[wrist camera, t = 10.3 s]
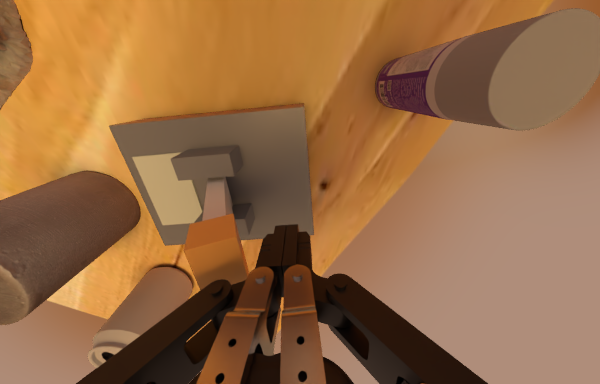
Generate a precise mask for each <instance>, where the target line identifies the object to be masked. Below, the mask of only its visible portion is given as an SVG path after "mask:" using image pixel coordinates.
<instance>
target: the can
mask: <svg viewBox="0 0 600 384" xmlns="http://www.w3.org/2000/svg"><path fill="white" fill-rule="evenodd" d="M191 292H192V284H191V281H190V280H189V278H188V276H187V275H186V274H185V273H184V272H182V271H181V270H179V269H177V268H173V267H158V268H154V269H152V270H150V271H149V272H147V273H146V275H145V276H144V277H143V278H142V279H141V281H140V282H139V283H138V284H137V285H136V287H135V288H134V289H133V290H132V291H131V293H130V294H129V295H128V296H127V297H126V299H125V300H124V301H123V302H122V303H121V305H120V306H119V307H118V308H117V309H116V311H115V312H114V313H113V314H112V315H111V317H110V318H109V319H108V320H107V322H106V323H105V324H104V325H103V326H102V327H101V329H100V330H99V331H98V332H97V334H96V335H95V336H94V338H93V349H91V350H90V351H89V353H88V360H89V362H90V363H91V364H92V365H93V366H95V367H96V368H98V367H99V366H100V365H102V364H103V363H104V362H106V361H107V360H108V359H110V358H111V357H112V356H114V355H115V354H116V353H118V352H119V351H120V350H122V349H123V348H124V347H126V346H127V345H128V344H130V343H131V342H132V341H134V340H135V339H136V338H138V337H139V336H140V335H142V334H143V333H144V332H146V331H147V330H148V329H150V328H151V327H152V326H154V325H155V324H156V323H158V322H159V321H161V320H162V319H163V318H165V317H166V316H167V315H169V314H170V313H171V312H173V311H174V310H175V309H177V308H178V307H179V306H181V305H182V304H183V303H185V302H186V301H187V300H188V298H189V296H190V294H191Z"/></svg>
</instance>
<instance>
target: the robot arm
mask: <svg viewBox="0 0 600 384" xmlns="http://www.w3.org/2000/svg"><path fill="white" fill-rule="evenodd" d="M281 297H284V310H283V311H282V318H281V353H278V354H275V355H274V344H275V339H276V334H277V328H278V323H279V318H280V312H281V308H280V305H281ZM210 320H211V321H210ZM209 321H210V322H209ZM207 322H209V323H208V324H207V325H206V326H205V327H204V328H202V327H203V326H204V325H205V324H206V323H207ZM318 322H321V323H324V324H328V325H329V328H330V329H331V331H333V333H334V334H335V335H336V336H337V337H338V338H339V339H340V340H341V342H342V343H343V344H344V345H345V346H346V347H347V348H348V349H349V350H350V351H351V352H352V354H353V355H354V356H355V357H356V358H357V359H358V360H359V361H360V362H361V364H362V365H363V366H364V367H365V368H366V369H367V370H368V371H369V373H370V374H371V375H372V376H373V377H374V378H375V379H376V380H377V381H378V382H379V384H488V383H487V382H485V381H484V380H483V379H481V378H480V377H479V376H477V375H476V374H475V373H473V372H472V371H471V370H470V369H468V368H467V367H466V366H464V365H463V364H462V363H461V362H459V361H458V360H456V359H455V358H454V357H453V356H451V355H450V354H449V353H448V352H446V351H445V350H444V349H442V348H441V347H440V346H438V345H437V344H436V343H435V342H433V341H432V340H431V339H429V338H428V337H427V336H426V335H424V334H423V333H422V332H420V331H419V330H418V329H416V328H415V327H414V326H413V325H411V324H410V323H409V322H407V321H406V320H405V319H404V318H402V317H401V316H400V315H398V314H397V313H396V312H394V311H393V310H392V309H390V308H389V307H388V306H387V305H385V304H384V303H383V302H382V301H380V300H379V299H378V298H376V297H375V296H374V295H372V294H371V293H370V292H369V291H367V290H366V289H365V288H363V287H362V286H361V285H360V284H358V283H357V282H356V281H354V280H353V279H352V278H350V277H349V276H347V275H345V274H334V275H332V276H330V277H329V278H328V279H327V278H323V277H320V276H318V275H316V274H315V273H314V272H313V270H312V254H311V243H310V236H309V234H308V233H307V231H304V232H299V226H298V224H292V225H278V226H275V230H274V234H267V235H266V237H265V238H264V239H263V242H262V246H261V249H260V253H259V256H258V260H257V264H256V267H255V269H254V270H252V271H251V272H250V273H249V275H248V277H247V279H246V280H244V281H242V282H239V283H236V284H232V285H231V284H230V282H229V281H228V280H225V279H220V280H216V281H214V282H212V283H210V284H209V285H207V286H206V287H205V288H203V289H202V290H201V291H199V292H198V293H197V294H195V295H194V296H193V297H191V298H190V299H189V300H187V301H186V302H185V303H183V304H182V305H181V306H179V307H178V308H177V309H175V310H174V311H173V312H171V313H170V314H169V315H167V316H166V317H165V318H163V319H162V320H161V321H159V322H158V323H156V324H155V325H154V326H152V327H151V328H150V329H148V330H147V331H146V332H144V333H143V334H142V335H140V336H139V337H138V338H136V339H135V340H134V341H132V342H131V343H130V344H128V345H127V346H126V347H124V348H123V349H122V350H120V351H119V352H118V353H116V354H115V355H114V356H112V357H111V358H110V359H108V360H107V361H106V362H104V363H103V364H102V365H100V366H99V367H98V368H96V369H95V370H94V371H92V372H91V373H90V374H88V375H87V376H86V377H84V378H83V379H82V380H80V381H79V382H78V383H76V384H188V383H189V382H190V381H191V380H192V379H193V378H194V379H193V380H192V381H191V382H190V383H189V384H354V383H353V382H352V381H351V379H350V378H349V377H348V375H347V374H346V373H345V372H344V371H343V370H342V369H341V368H340V367H339V366H338V365H336V364H335V363H334V362H332V361H331V360H329V359H327V358H325V357H323V356H322V348H321V341H320V334H319V326H318ZM201 328H202V329H201ZM199 329H201V330H200V331H199V332H198V333H197V334H196V335H194V334H195V333H196V332H197V331H198V330H199ZM193 335H194V336H193ZM191 336H193V337H192V338H191V339H190V340H189V341H188V342H187V340H188V339H189V338H190V337H191ZM201 370H202V371H201ZM200 371H201V372H200ZM199 372H200V373H199ZM198 373H199V374H198ZM197 374H198V375H197ZM196 375H197V376H196Z"/></svg>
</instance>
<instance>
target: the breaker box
mask: <svg viewBox="0 0 600 384" xmlns="http://www.w3.org/2000/svg"><path fill="white" fill-rule="evenodd" d="M109 127H110V130H111V132H112V134H113V136H114V138H115V140H116V142H117V144H118V147H119V149H120V151H121V153H122V155H123V157H124V159H125V161H126V164H127V166H128V168H129V170H130V172H131V174H132V176H133V178H134V181H135V183H136V185H137V187H138V189H139V191H140V193H141V196H142V198H143V200H144V202H145V204H146V206H147V208H148V210H149V213H150V215H151V217H152V219H153V221H154V223H155V225H156V227H157V230H158V232H159V234H160V236H161V238H162V240H163V242H164V244H165V246H166V245H180V244H185V243H186V238H187V234H188V230H189V225H190V224H192V223H196V222H200V221H202V218H203V211H204V203H205V196H206V188H207V181H208V178H218V177H226V181H227V185H228V188H229V192H230V196H231V200H232V204H233V206H232V210H233V214H234V218H235V221H236V225H237V229H238V233H239V236H240V240H250V239H264V238H265V237H266V235H267V234H274V230H275V226H278V225H292V224H298V226H299V232H304V231H307V233H308V234H309V235H314V229H313V215H312V202H311V189H310V176H309V162H308V149H307V136H306V123H305V110H304V103H303V104H292V105H282V106H272V107H262V108H251V109H241V110H231V111H221V112H210V113H200V114H190V115H180V116H169V117H159V118H149V119H142V120H136V121H131V122H126V123H121V124H116V125H110V126H109Z"/></svg>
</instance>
